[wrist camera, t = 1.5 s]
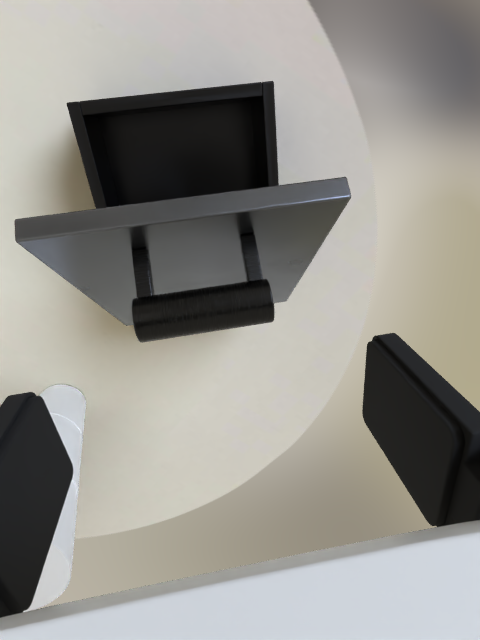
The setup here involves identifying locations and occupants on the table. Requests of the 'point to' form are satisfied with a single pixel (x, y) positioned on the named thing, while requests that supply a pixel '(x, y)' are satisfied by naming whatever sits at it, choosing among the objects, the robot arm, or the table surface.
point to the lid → (190, 254)
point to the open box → (177, 143)
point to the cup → (69, 422)
